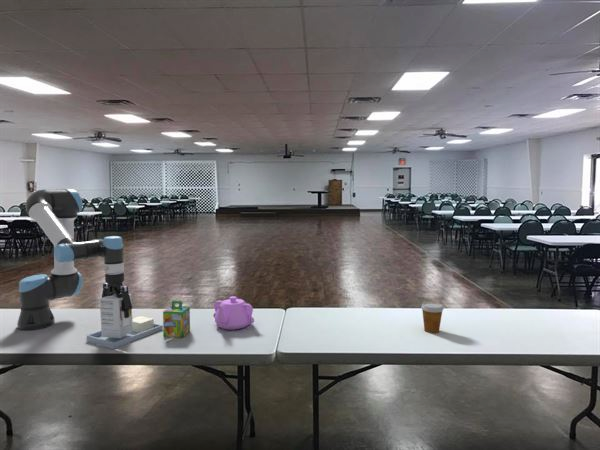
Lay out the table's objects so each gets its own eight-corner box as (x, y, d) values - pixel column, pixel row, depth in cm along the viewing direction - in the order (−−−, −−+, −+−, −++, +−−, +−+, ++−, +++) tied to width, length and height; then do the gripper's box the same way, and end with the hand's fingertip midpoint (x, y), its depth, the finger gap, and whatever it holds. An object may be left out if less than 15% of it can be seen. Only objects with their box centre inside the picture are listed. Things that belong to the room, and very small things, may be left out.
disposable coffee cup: (444, 329, 193) (444, 303, 192) (441, 335, 185) (442, 309, 184) (422, 326, 197) (423, 300, 196) (419, 332, 189) (419, 306, 188)
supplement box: (120, 338, 178) (118, 299, 177) (100, 337, 180) (98, 298, 178) (133, 330, 188) (131, 293, 186) (115, 329, 190) (113, 292, 188)
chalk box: (163, 337, 185) (161, 304, 184) (171, 330, 194) (170, 298, 193) (183, 338, 184) (182, 304, 183) (190, 330, 194) (189, 299, 192)
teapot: (197, 331, 192) (196, 302, 191) (223, 317, 212) (222, 290, 211) (239, 338, 184) (239, 307, 182) (262, 322, 204) (262, 294, 203)
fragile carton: (128, 329, 194) (127, 320, 193) (140, 325, 200) (140, 315, 199) (141, 333, 189) (140, 323, 189) (153, 328, 195) (153, 318, 195)
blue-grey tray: (86, 341, 181) (86, 335, 181) (136, 324, 203) (136, 318, 203) (113, 349, 172) (113, 343, 172) (162, 330, 194) (162, 325, 193)
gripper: (89, 271, 184) (92, 321, 186) (124, 277, 172) (127, 330, 174) (105, 268, 190) (108, 316, 193) (139, 274, 179) (142, 324, 181)
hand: (117, 322), depth 184 cm, fingers closed on supplement box, 11 cm apart
